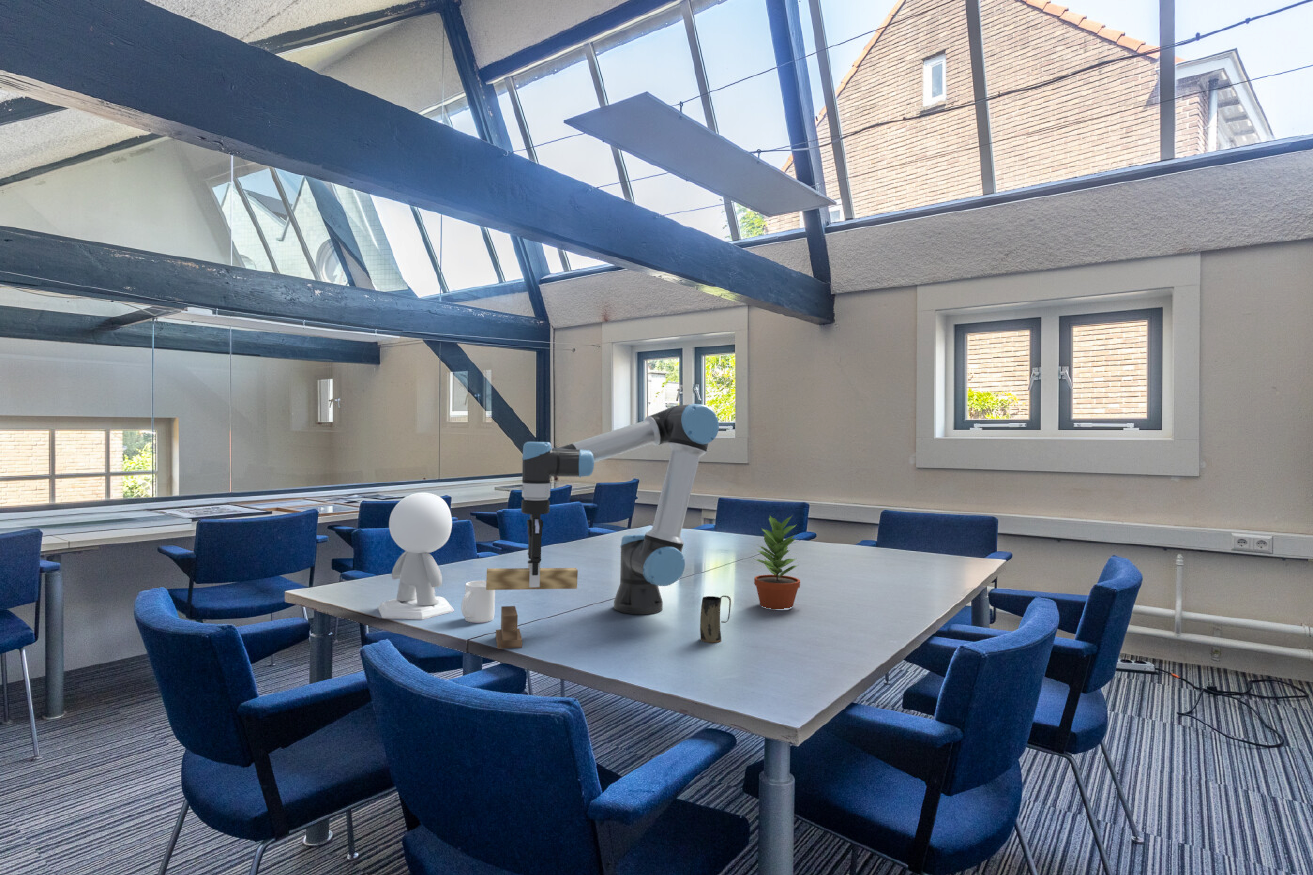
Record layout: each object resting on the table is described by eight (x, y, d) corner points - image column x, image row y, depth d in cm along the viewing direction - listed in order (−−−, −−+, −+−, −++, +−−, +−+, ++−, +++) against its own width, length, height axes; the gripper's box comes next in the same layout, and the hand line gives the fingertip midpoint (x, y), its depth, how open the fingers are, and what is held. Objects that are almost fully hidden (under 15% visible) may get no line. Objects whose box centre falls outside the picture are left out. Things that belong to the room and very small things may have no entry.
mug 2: (697, 641, 182) (698, 595, 182) (702, 635, 187) (703, 591, 187) (726, 645, 179) (728, 598, 179) (731, 639, 184) (732, 594, 184)
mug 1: (473, 628, 189) (474, 590, 189) (449, 624, 192) (450, 587, 192) (500, 618, 200) (501, 582, 200) (476, 614, 203) (477, 579, 203)
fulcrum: (519, 636, 182) (519, 605, 182) (521, 647, 173) (522, 615, 173) (495, 637, 181) (496, 606, 181) (497, 648, 171) (498, 616, 171)
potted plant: (751, 600, 230) (753, 509, 230) (797, 602, 228) (800, 511, 227) (751, 611, 215) (753, 514, 215) (801, 614, 213) (803, 516, 213)
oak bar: (575, 585, 192) (575, 567, 192) (576, 588, 188) (577, 570, 188) (486, 587, 185) (486, 568, 185) (486, 590, 182) (487, 571, 182)
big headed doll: (468, 607, 210) (471, 492, 210) (404, 624, 191) (408, 497, 191) (425, 598, 221) (427, 488, 221) (360, 612, 201) (363, 492, 201)
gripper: (519, 495, 194) (517, 579, 194) (523, 501, 178) (521, 592, 178) (546, 495, 196) (544, 578, 196) (553, 501, 180) (551, 591, 180)
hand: (533, 585), depth 187 cm, fingers closed on oak bar, 3 cm apart
